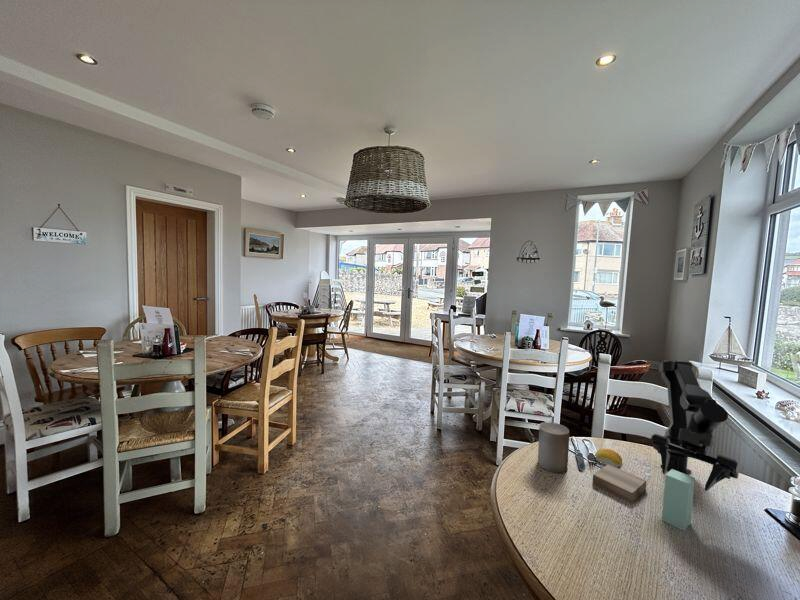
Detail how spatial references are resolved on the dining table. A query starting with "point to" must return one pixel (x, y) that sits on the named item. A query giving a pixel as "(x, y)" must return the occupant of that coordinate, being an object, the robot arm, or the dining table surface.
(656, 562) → the dining table surface
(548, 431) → the pillar candle
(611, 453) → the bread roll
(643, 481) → the walnut base
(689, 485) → the pillar
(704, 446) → the robot arm
